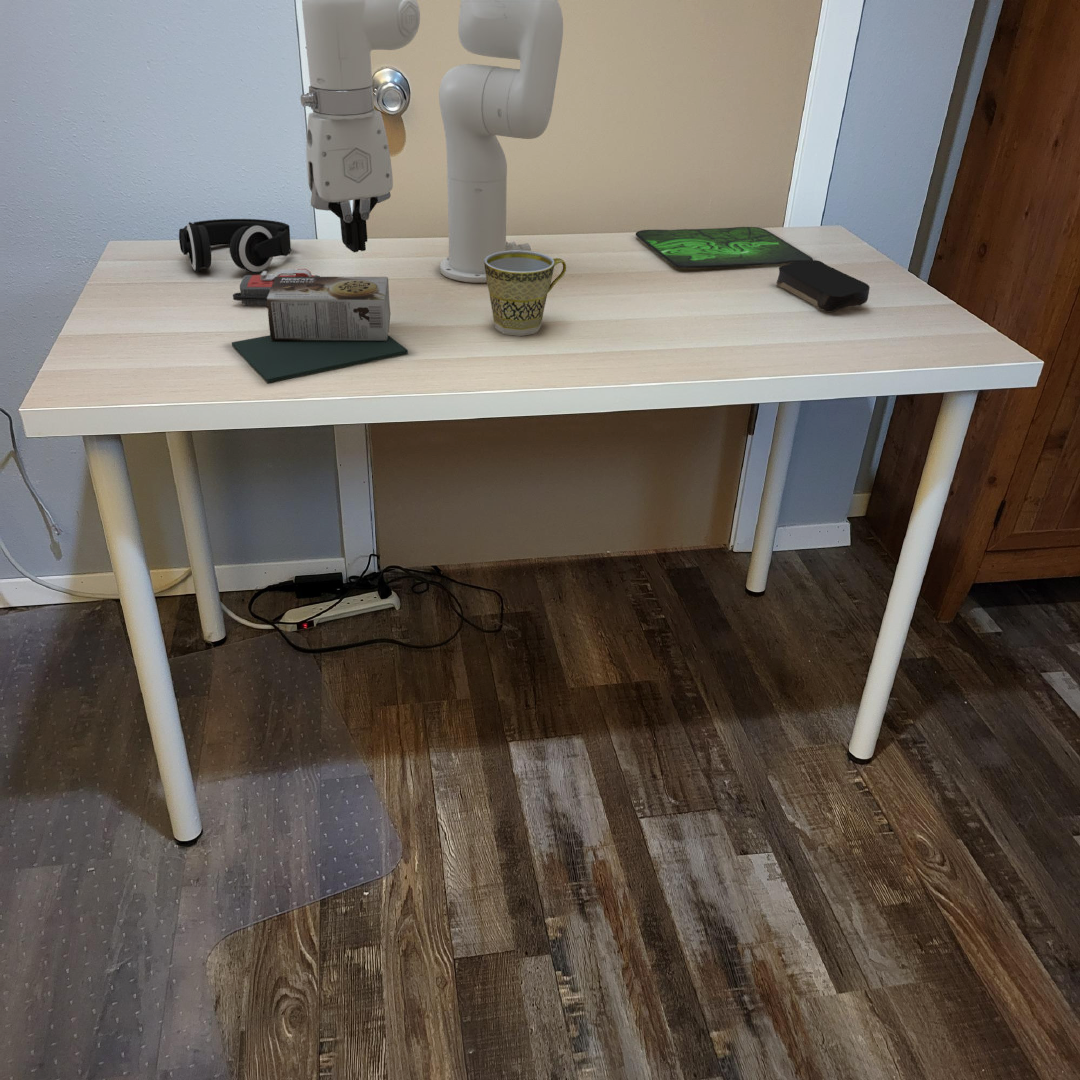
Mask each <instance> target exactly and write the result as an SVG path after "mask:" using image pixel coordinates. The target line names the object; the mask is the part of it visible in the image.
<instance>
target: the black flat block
mask: <svg viewBox="0 0 1080 1080" xmlns="http://www.w3.org/2000/svg"><path fill="white" fill-rule="evenodd" d="M778 270H779V272H778V277H777V279H776V286H778V287H780V288H783V289H784V290H786V291H788V292H789V293H791V294H793V295H795V296H796V297H799V298H800V299H803V300H804V301H806V302H808V303H810V304H811V305H812V306H814V307H816V308H818V310H822V311H824V312H827V313H830V312H831V313H832V312H836V311H839V310H844V309H847V308H853V307H858V306H862V305H864V304H866V303H867V302H868V299H869V295H870V288H871V287H870V285H869V284H868V283H866V282H865V281H863V280H859V279H858V278H855V277H853V276H851V275H849V274H846V273H844V272H842V271H841V270H838V269H836V268H834V267H831V266H829V265H827V264H825V263H824V262H822V261H821V260H817V259H816V260H815V259H813V260H805V261H797V262H790V263H787V264H784V265H780V266H779V267H778Z"/></svg>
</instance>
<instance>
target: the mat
mask: <svg viewBox="0 0 1080 1080" xmlns="http://www.w3.org/2000/svg"><path fill="white" fill-rule="evenodd" d="M231 347H232V348H233V349H234V350H235V351H236V352H237V353H238V354H239V355H240V356H241V357H242V358H243V360H245V362H246V363H247V364H249V365H250V367H252V369H253V370H254V371H255V372H256V373H257V374H258V375H259V376H260V377H261V378H262V379H263V381H265V382H266V383H267V384H271V383H276V382H281V381H286V380H290V379H295V378H299V377H305V376H310V375H314V374H319V373H324V372H328V371H335V370H339V369H343V368H348V367H352V366H357V365H361V364H367V363H370V362H372V363H373V362H376V361H381V360H386V359H390V358H395V357H401V356H405V355H409V349H407V348H406V347H404V346H403V345H402V344H401V343H399V342H398V341H397V340H396V339H395V338H392V336H390V335H389V334H388V338H387V341H333V340H273V341H272V340H271V336H270V334H269V335H263V336H258V337H254V338H248V339H242V340H236V341H232V342H231Z"/></svg>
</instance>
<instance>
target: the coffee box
mask: <svg viewBox="0 0 1080 1080" xmlns="http://www.w3.org/2000/svg"><path fill="white" fill-rule="evenodd" d="M389 286H390V285H389V276H320V277H275V280H274V282H273V284H272V287H271V289H270V292H269V294H268V296H267V306H266V307H267V316H268V317H267V318H268V319H267V320H268V328H269V335H270V336H271V340H272V341H273V340H333V341H387V338H388V335H389V329H390V324H391V323H390V322H391V314H392V313H391V303H390V289H389Z"/></svg>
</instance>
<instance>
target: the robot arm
mask: <svg viewBox="0 0 1080 1080" xmlns="http://www.w3.org/2000/svg"><path fill="white" fill-rule="evenodd" d="M301 9H302V10H301V11H302V17H303V18H302V20H303V29H304V38H305V47H306V57H307V66H308V76H309V84H310V86H308V92H306V93H305V94H304V93H303V94H300V103H301V106H302V107H308V108H310V109H311V110H312V112H310V113H308V117H307V124H306V125H307V126H306V149H305V151H306V152H305V153H306V173H307V182H308V187H309V190H310V192H311V197H310V206H311V207H313V208H314V209H316V210H319V211H329V212H332V213H333V214H334V215H336V217H338V218H339V222H340V233H341V241H342V244H343V245H344V246H345V248H347V249H348V250H350V251H351V252H352V253H358V252H359V251H360V252H365V251H366V250H367V246H366V243H367V242H368V227H367V221H368V220H369V219H370V216H371V215H370V213H371V212H372V211H373V210H374V208H375V206H376V205H377V204H380V203H382V202H385V201H387V200H389V199H390V198H391V191H392V189H393V187H394V185H393V184H394V181H393V180H394V179H393V168H392V160H391V152H390V147H389V141H388V136H387V131H386V127H385V122H384V119H383V118H384V117H383V115H382V111H380V110H377V109H375V99H374V85H373V75H372V60H371V57H372V56H371V53H372V51H379V50H380V51H382V50H383V51H395V50H400V49H403V48H404V47H407V45H409V44H410V43H411V42H412V41H413V40H414V38H415V37H416V36H417V34H418V30H419V28H420V23H421V11H420V6H419V4H418V1H417V0H301ZM563 17H564V16H563V12H562V7H561V4H560V2H559V0H460V5H459V15H458V25H457V26H458V29H457V31H458V39H459V42H460V44H461V46H462V48H463V49H465V50H466V51H467V52H468V53H470V54H474V55H477V56H483V57H489V58H497V59H507V60H508V59H509V60H516V61H520V62H519V63H520V65H519V67H520V68H512V67H502V66H498V65H496V66H495V65H486V64H476V63H466V64H459V65H456V66H454V67H453V66H452V67H451V68H450V69H448V70H447V71H446V72H445V74H444V75H443V77H442V79H441V81H440V85H439V90H438V103H439V108H440V114H441V119H442V120H441V121H442V124H443V130H444V136H445V147H446V171H447V173H446V176H447V177H446V178H447V179H446V181H447V220H448V221H447V225H448V227H447V229H448V230H447V231H448V257H446V258H444V259H443V260H441V261H440V263H439V271H440V274H442V275H443V276H444V277H445V278H448V279H451V280H454V281H458V282H461V283H474V284H477V283H478V284H481V283H482V284H487V279H486V273H485V264H484V260H485V258H486V257H487V256H488V255H491V254H493V253H496V252H501V251H510V250H523V251H532V247H531V244H530V243H528V242H527V243H520V244H517V243H516V242H515V241H511V242H509V241H507V189H508V188H507V184H508V183H507V182H508V181H507V179H508V178H507V177H508V165H507V158H506V155H505V153H504V149H503V147H502V145H501V143H500V141H499V139H498V137H506V138H514V139H521V140H522V139H523V140H533V139H537V138H540V137H541V136H542V135H543V134H544V132H545V131H546V130H547V128H548V126H549V123H550V120H551V117H552V111H553V105H554V98H555V91H556V86H557V79H558V73H559V65H560V59H561V53H562V47H563V46H562V45H563V37H564V18H563ZM497 136H498V137H497ZM350 201H352V207H351V203H350Z"/></svg>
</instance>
